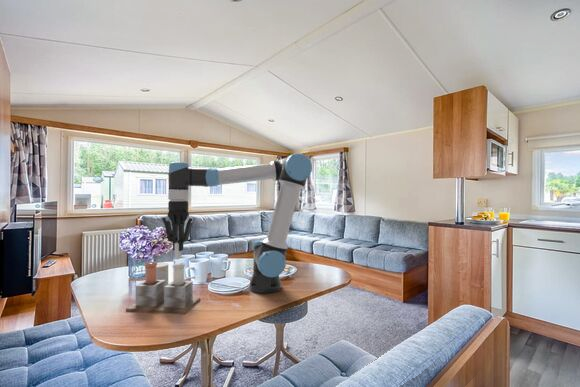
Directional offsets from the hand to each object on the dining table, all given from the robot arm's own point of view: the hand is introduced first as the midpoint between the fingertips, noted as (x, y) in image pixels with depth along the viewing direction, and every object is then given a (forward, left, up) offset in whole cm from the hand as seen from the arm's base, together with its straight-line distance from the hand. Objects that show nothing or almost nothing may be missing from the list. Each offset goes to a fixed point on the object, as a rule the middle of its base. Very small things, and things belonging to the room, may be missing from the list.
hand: (178, 258), depth 117 cm
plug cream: (0, 0, -12) cm, 12 cm away
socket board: (+6, 0, -19) cm, 20 cm away
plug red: (+12, 0, -12) cm, 17 cm away
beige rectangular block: (+18, -16, -20) cm, 31 cm away
